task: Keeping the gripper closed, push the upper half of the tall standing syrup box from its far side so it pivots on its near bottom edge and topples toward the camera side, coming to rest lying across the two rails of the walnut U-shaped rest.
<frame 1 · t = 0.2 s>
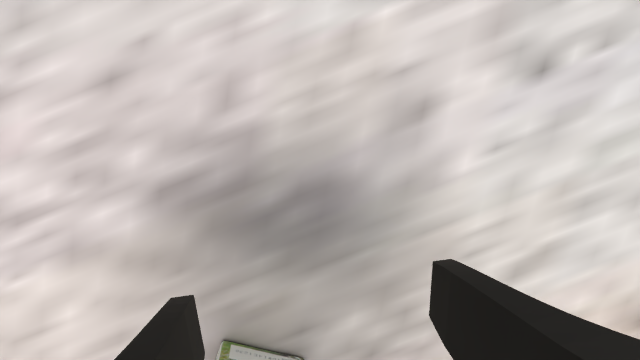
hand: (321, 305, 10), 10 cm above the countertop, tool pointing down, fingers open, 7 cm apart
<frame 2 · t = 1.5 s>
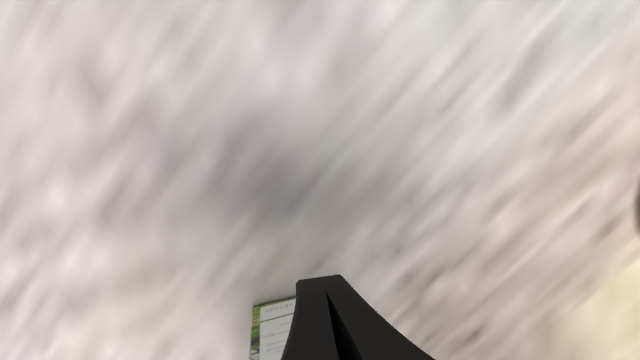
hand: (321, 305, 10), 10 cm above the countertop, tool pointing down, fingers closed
syrup box: (302, 325, 22), on the countertop
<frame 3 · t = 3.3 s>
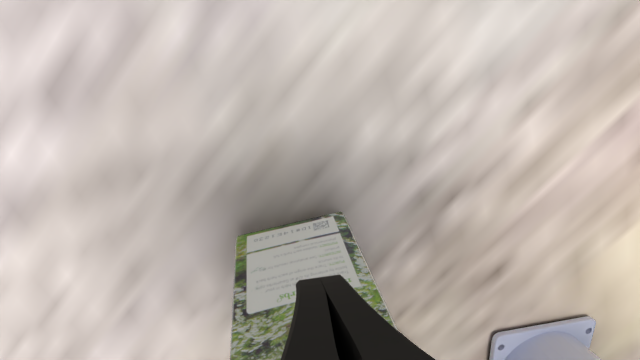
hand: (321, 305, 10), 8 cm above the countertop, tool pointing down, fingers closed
syrup box: (298, 257, 18), on the countertop, touching gripper
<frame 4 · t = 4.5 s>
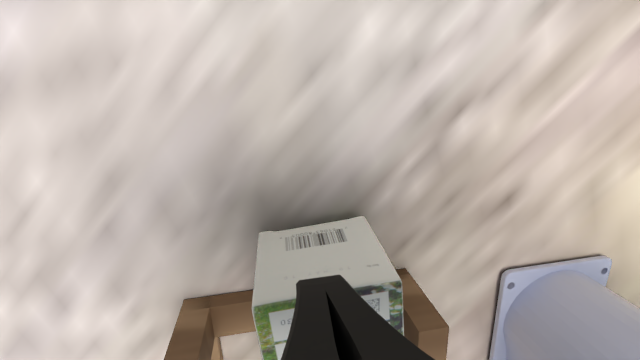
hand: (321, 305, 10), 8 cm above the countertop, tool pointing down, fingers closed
syrup box: (318, 247, 14), point 4 cm above the countertop, touching rest
rest: (304, 344, 21), on the countertop
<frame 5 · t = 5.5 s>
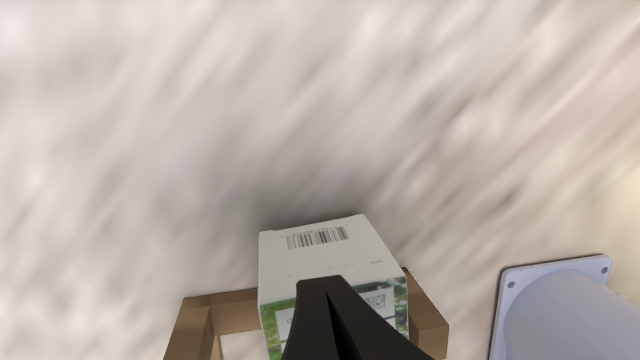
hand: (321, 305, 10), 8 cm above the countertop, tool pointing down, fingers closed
syrup box: (320, 245, 14), point 4 cm above the countertop, touching rest
rest: (304, 343, 21), on the countertop
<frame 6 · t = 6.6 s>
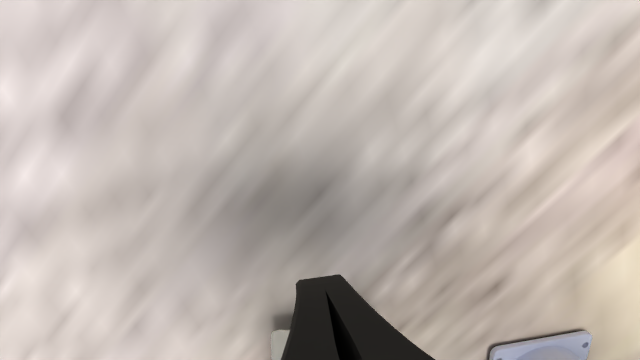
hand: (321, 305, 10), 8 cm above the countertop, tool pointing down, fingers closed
syrup box: (326, 358, 16), point 4 cm above the countertop, touching rest
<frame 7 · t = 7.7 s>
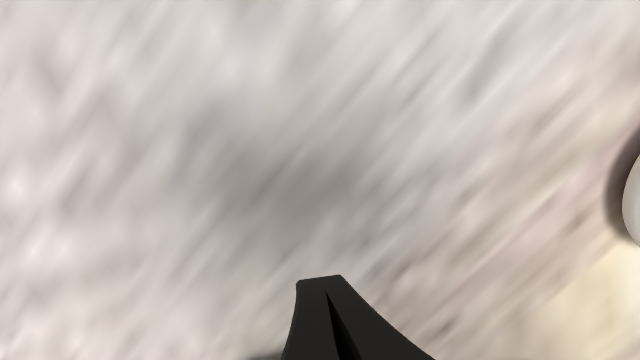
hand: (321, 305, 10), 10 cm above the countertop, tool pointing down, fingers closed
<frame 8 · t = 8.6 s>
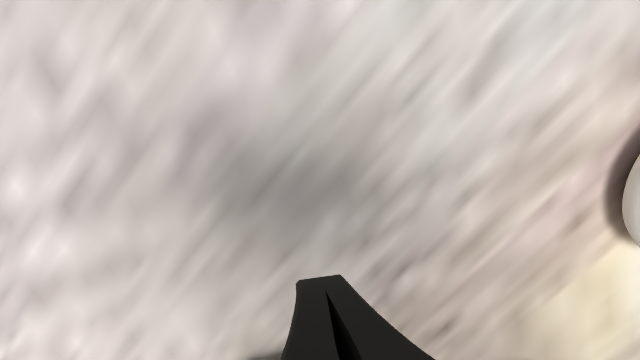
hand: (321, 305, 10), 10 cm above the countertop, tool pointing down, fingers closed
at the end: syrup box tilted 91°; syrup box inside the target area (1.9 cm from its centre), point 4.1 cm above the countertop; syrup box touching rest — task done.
